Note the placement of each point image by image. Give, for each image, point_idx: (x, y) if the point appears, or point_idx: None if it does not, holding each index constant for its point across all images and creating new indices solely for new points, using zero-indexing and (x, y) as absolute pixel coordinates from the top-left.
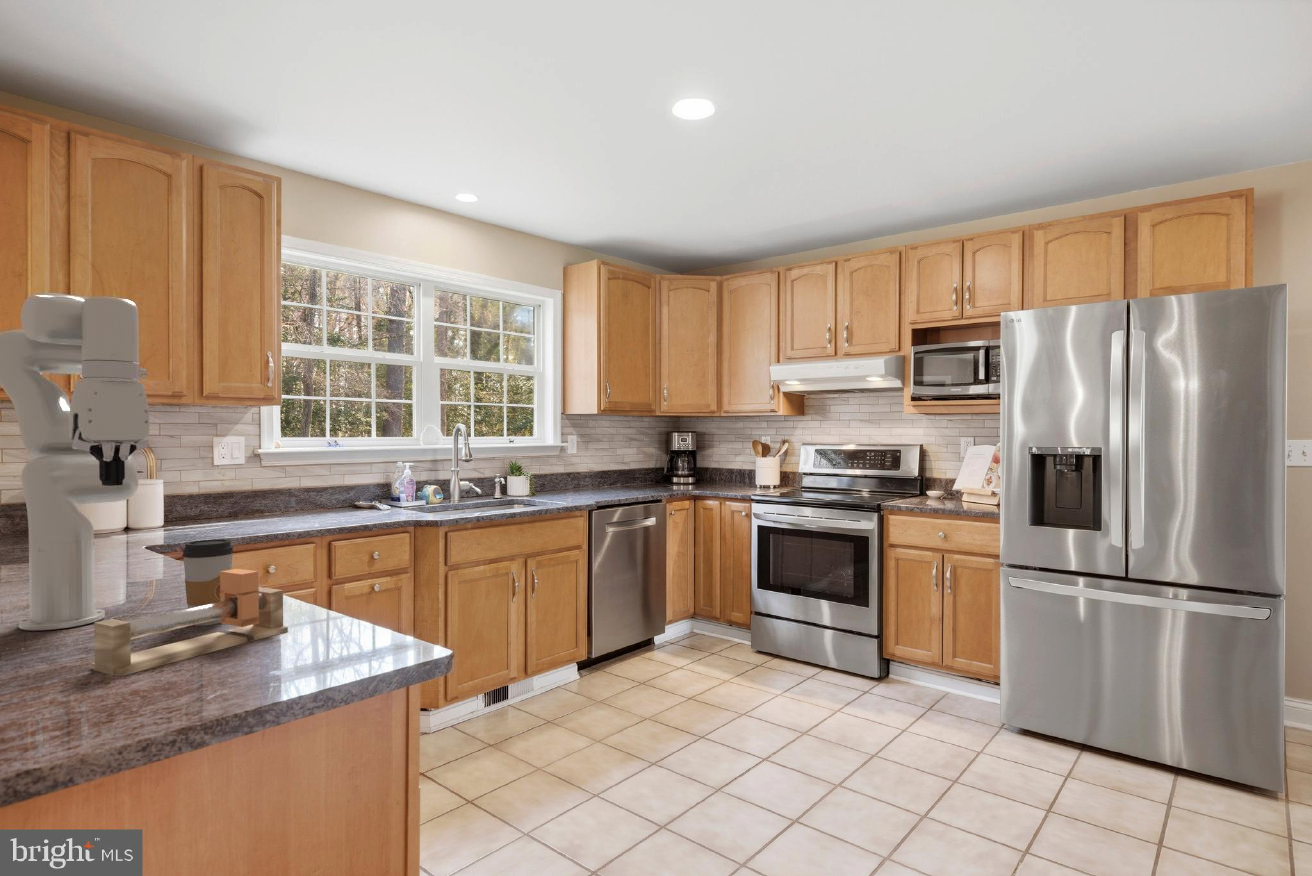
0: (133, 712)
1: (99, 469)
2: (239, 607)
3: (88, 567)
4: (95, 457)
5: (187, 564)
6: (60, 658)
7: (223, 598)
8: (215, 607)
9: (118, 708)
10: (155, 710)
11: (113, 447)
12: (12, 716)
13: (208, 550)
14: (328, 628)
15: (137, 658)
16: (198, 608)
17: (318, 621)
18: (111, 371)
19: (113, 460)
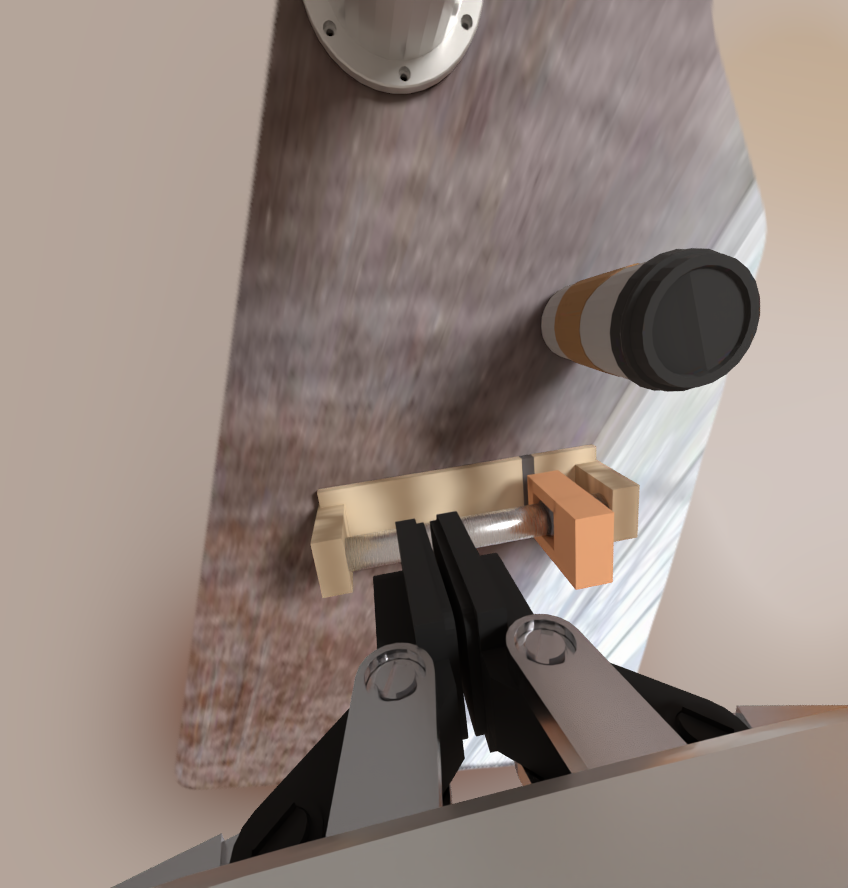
0: (299, 708)
1: (376, 619)
2: (543, 543)
3: None
4: (343, 722)
5: (601, 331)
6: (301, 377)
7: (548, 503)
8: (509, 541)
9: (291, 685)
10: (317, 717)
11: (574, 754)
12: (193, 631)
13: (653, 385)
14: (631, 546)
15: (373, 521)
16: (481, 545)
17: (655, 493)
18: None
19: (484, 687)
